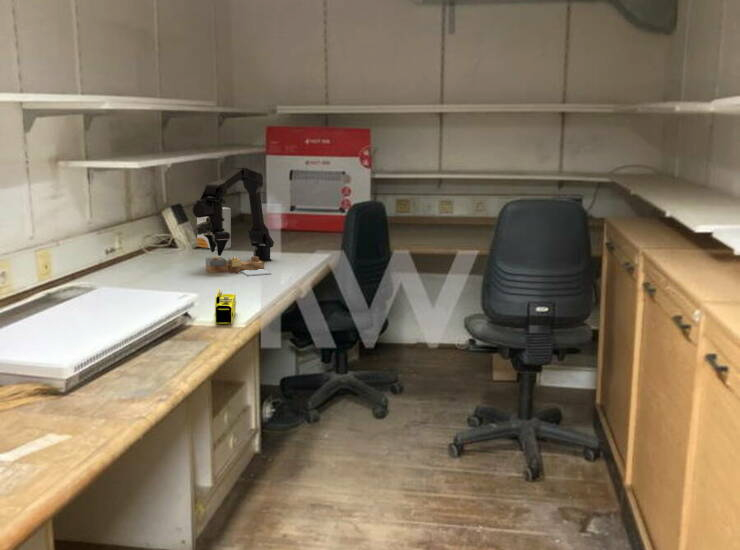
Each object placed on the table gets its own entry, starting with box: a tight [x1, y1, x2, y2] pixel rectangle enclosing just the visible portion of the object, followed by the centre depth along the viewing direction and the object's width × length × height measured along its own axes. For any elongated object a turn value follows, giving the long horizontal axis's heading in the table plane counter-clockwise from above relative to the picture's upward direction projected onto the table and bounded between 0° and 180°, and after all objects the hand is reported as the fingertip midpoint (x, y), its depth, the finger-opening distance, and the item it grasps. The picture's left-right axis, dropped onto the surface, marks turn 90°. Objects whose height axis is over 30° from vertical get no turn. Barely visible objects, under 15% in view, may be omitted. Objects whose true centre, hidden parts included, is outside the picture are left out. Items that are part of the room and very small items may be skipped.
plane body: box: [205, 256, 265, 274], centre depth 287 cm, size 23×12×5 cm, turn 119°
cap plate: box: [205, 256, 227, 266], centre depth 283 cm, size 7×6×3 cm
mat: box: [240, 269, 272, 277], centre depth 282 cm, size 10×8×1 cm
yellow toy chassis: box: [214, 287, 237, 325], centre depth 213 cm, size 16×6×8 cm, turn 7°
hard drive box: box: [196, 206, 232, 250], centre depth 339 cm, size 16×8×20 cm, turn 62°
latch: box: [227, 256, 242, 267], centre depth 282 cm, size 4×5×3 cm
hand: (216, 253), depth 283 cm, fingers open, 9 cm apart
